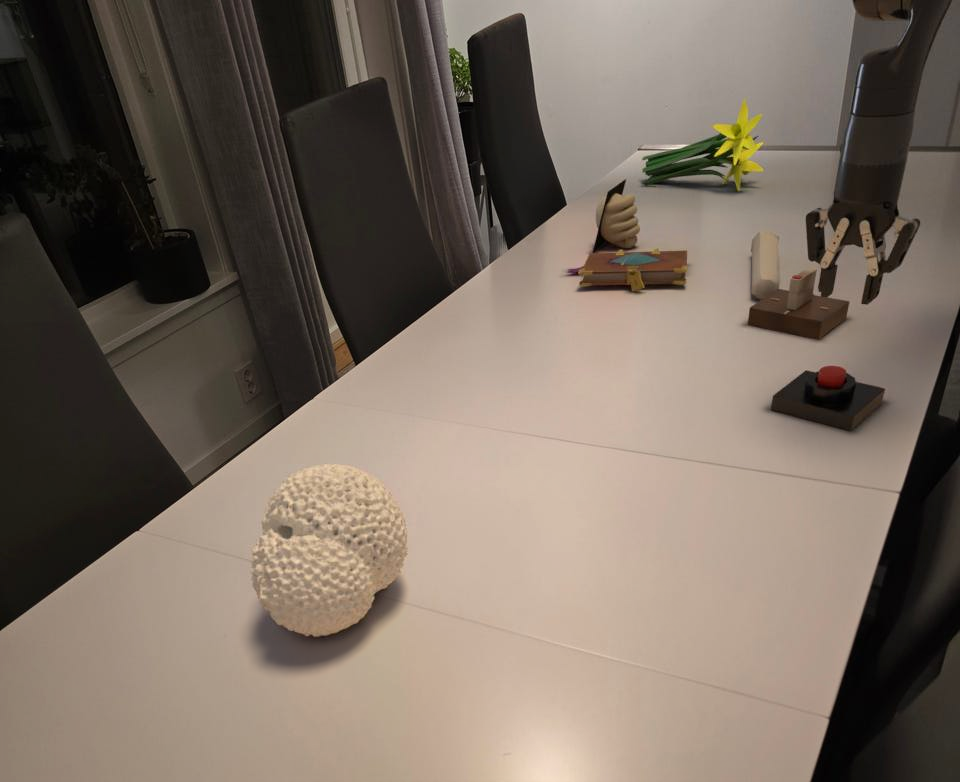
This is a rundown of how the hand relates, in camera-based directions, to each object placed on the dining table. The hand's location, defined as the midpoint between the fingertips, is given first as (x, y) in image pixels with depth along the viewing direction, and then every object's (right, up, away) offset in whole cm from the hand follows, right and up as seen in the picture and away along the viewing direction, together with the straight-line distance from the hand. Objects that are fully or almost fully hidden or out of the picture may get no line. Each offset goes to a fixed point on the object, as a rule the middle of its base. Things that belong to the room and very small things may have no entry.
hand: (846, 298), depth 111 cm
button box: (+2, -11, +10) cm, 15 cm away
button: (+1, -9, +8) cm, 12 cm away
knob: (+6, +12, +31) cm, 34 cm away
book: (-20, +27, +57) cm, 66 cm away
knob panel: (+6, +10, +33) cm, 35 cm away
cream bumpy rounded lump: (-64, -41, -13) cm, 77 cm away
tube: (+6, +24, +50) cm, 56 cm away
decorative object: (-18, +41, +72) cm, 85 cm away
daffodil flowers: (+6, +69, +101) cm, 122 cm away
